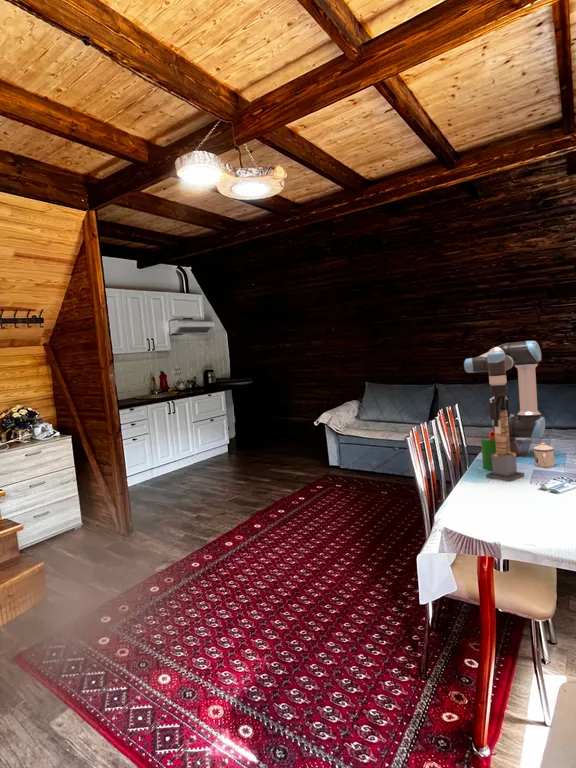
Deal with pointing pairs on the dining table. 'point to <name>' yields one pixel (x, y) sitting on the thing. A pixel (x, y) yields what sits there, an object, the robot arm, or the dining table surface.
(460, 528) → the dining table surface
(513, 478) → the stand base
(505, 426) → the column
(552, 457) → the teacup with lid
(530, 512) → the dining table surface
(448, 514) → the dining table surface
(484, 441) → the motor
